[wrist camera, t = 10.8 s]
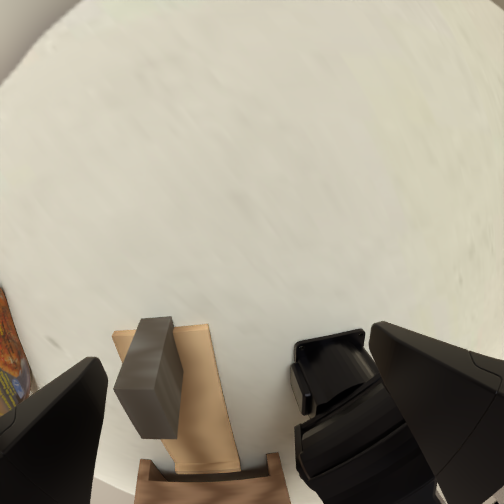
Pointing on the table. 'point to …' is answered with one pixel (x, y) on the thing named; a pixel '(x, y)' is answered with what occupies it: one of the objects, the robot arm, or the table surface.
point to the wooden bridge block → (212, 488)
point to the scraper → (176, 394)
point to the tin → (11, 363)
